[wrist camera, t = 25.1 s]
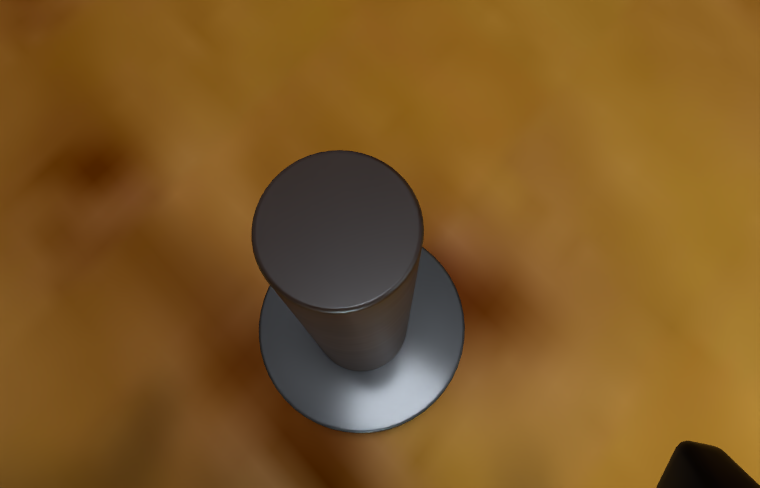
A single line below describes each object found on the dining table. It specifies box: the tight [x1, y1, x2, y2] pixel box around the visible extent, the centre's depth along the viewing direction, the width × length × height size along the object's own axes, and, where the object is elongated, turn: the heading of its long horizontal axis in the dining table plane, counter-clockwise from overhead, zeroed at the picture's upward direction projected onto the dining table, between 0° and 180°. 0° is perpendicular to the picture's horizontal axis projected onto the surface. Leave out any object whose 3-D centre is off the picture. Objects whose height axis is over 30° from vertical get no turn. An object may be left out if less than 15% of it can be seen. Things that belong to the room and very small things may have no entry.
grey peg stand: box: [252, 150, 465, 433], centre depth 13 cm, size 5×5×10 cm
